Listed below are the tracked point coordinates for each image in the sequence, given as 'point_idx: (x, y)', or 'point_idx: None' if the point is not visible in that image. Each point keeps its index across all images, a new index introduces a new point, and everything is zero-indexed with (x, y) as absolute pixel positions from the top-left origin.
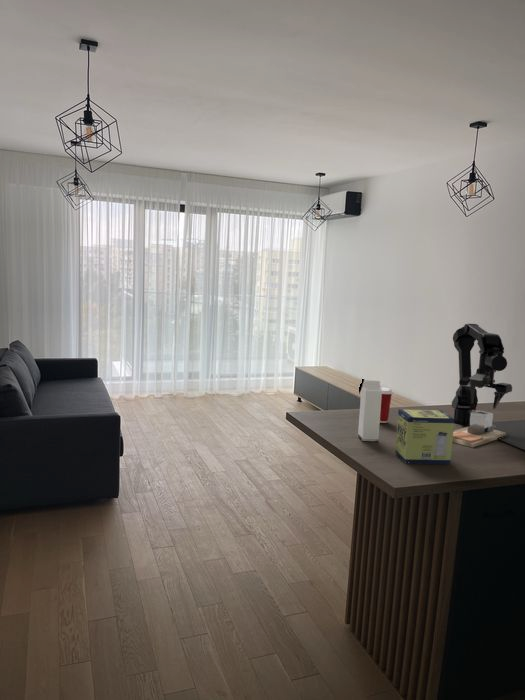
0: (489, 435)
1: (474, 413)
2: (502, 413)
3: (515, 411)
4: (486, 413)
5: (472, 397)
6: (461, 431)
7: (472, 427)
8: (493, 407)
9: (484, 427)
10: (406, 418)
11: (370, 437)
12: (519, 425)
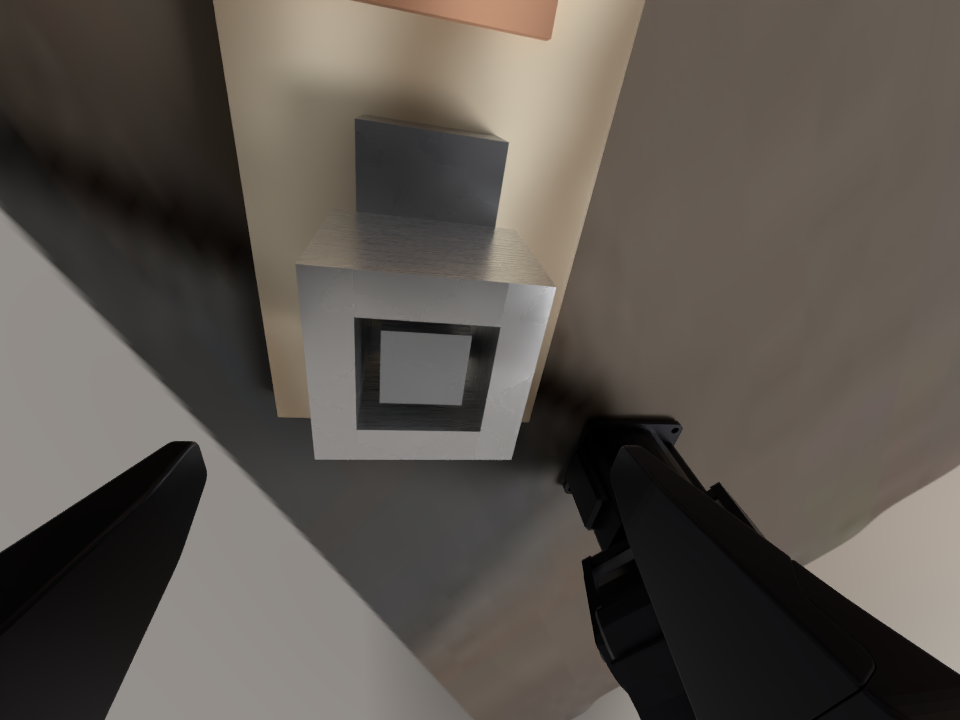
0: (295, 213)
1: (496, 278)
2: (505, 670)
3: (478, 706)
4: (387, 423)
5: (672, 562)
6: (541, 34)
7: (449, 133)
8: (175, 452)
9: (333, 212)
10: None
11: None
12: (371, 609)
